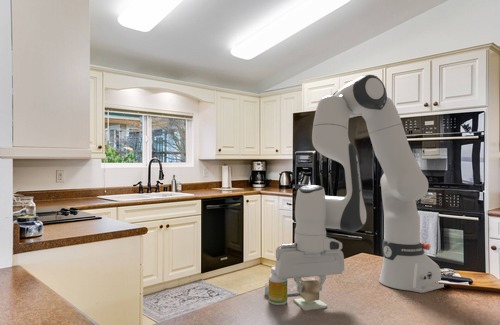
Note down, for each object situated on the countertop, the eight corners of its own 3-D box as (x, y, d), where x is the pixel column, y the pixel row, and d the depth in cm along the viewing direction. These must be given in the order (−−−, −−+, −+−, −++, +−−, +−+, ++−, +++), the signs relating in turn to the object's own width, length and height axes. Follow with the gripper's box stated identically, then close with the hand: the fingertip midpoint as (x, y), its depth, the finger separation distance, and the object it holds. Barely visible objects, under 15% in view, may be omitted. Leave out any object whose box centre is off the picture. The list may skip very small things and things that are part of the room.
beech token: (312, 294, 103) (313, 277, 103) (319, 300, 100) (319, 282, 100) (300, 296, 102) (300, 278, 102) (306, 301, 98) (306, 283, 98)
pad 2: (314, 298, 105) (314, 296, 105) (327, 307, 99) (327, 305, 99) (293, 301, 103) (293, 298, 103) (304, 310, 96) (304, 308, 96)
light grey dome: (277, 290, 112) (277, 281, 112) (284, 296, 107) (284, 286, 107) (262, 292, 110) (262, 282, 110) (268, 298, 105) (268, 288, 105)
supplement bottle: (286, 306, 99) (286, 271, 99) (267, 304, 100) (267, 270, 100) (288, 299, 105) (288, 266, 105) (269, 297, 106) (270, 264, 106)
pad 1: (298, 286, 116) (298, 284, 116) (308, 293, 109) (308, 291, 109) (278, 288, 113) (278, 286, 113) (287, 296, 107) (287, 293, 107)
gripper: (280, 247, 95) (279, 298, 95) (347, 243, 101) (346, 291, 101) (272, 242, 101) (271, 290, 101) (336, 238, 107) (335, 284, 107)
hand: (309, 291), depth 101 cm, fingers closed on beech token, 4 cm apart
